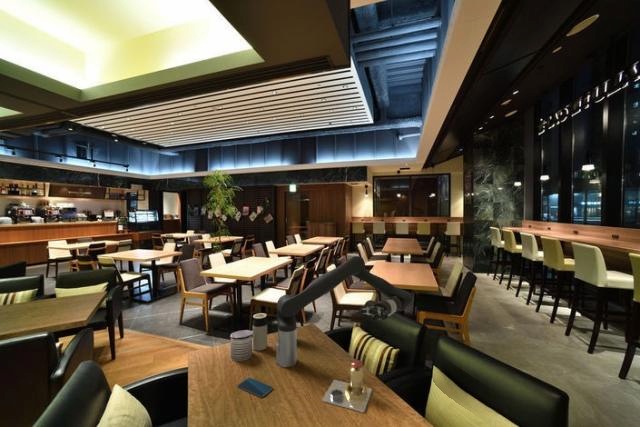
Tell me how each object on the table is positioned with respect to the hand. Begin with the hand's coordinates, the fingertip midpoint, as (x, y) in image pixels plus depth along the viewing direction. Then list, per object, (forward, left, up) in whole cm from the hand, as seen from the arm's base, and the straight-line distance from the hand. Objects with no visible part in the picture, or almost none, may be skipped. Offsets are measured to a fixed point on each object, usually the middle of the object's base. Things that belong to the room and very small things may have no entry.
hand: (365, 316), depth 126 cm
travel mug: (-61, +6, -28) cm, 68 cm away
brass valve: (-1, -13, -27) cm, 30 cm away
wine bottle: (-51, +20, -28) cm, 62 cm away
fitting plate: (-4, -15, -28) cm, 32 cm away
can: (-65, -5, -28) cm, 71 cm away
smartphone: (-42, -25, -29) cm, 57 cm away
